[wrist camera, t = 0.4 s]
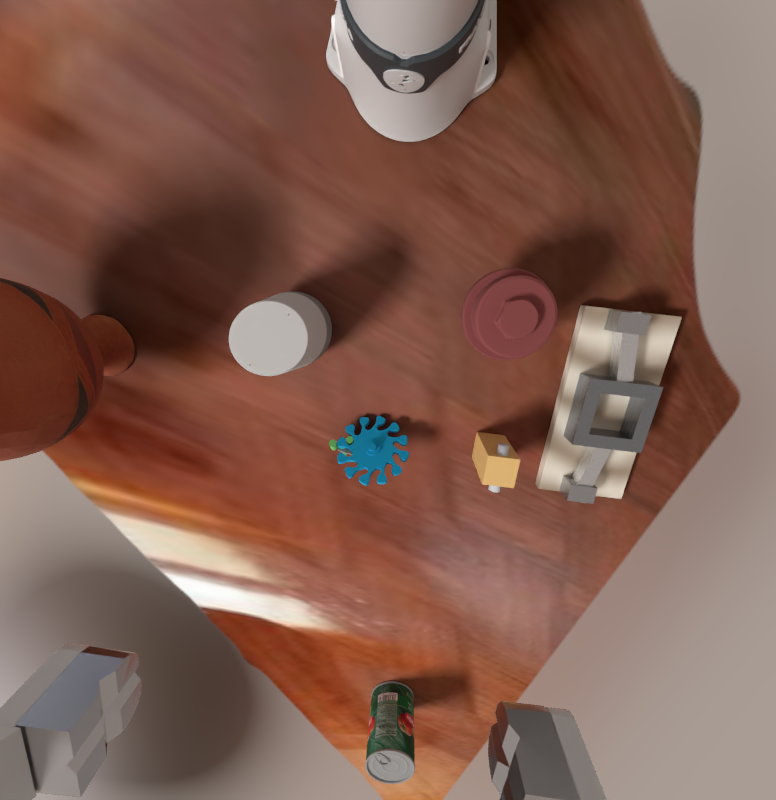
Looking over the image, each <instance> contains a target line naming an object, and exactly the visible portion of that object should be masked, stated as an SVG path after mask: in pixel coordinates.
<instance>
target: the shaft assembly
mask: <svg viewBox="0 0 776 800" xmlns="http://www.w3.org/2000/svg"><path fill="white" fill-rule="evenodd" d="M651 316H652V315H646V314H642V312H639V311H612V310H609V312H608V316H607V319H606V323H605V326H604V330H609V331H613V341H612V350H611V359H610V369H609V376H601V375H592V374H584V373H580V376H579V380H578V383H577V387H576V391H575V394H574V398H573V402H572V406H571V409H570V413H569V417H568V421H567V424H566V428H565V432H564V437H565V438H566V439H567V440H568V441H569V442H570V443H571V444H572V445H579V446H587V448H586V450H585V452H584V454H583V456H582V458H581V460H580V462H579V464H578V466H577V468H576V470H575V472H574V474H573V476H565V475H563V478H562V482H561V485H560V489H559V490H560V492H561V493H562V494H563V496H564V497H565V498H566V500H567V501H575V502H582V503H592V504H593V502H594V499H595V496H596V493H597V489H598V488H597V487H596V486H595V485H594V483H595V481H596V479H597V477H598V475H599V473H600V471H601V469H602V468H603V466H604V464H605V462H606V460H607V458H608V456H609V454H610V452H611V450H620V451H628V452H636V453H641V452H642V449H643V446H644V443H645V440H646V437H647V434H648V431H649V428H650V425H651V422H652V419H653V417H654V414H655V411H656V408H657V405H658V402H659V399H660V396H661V393H662V390H663V387H662V386H659V385H657V384H654V383H652V382H649V381H643V380H634V379H633V378H634V370H635V363H636V355H637V347H638V339H639V335H646V332H647V328H648V325H649V322H650V319H651ZM601 393H604V394H612V395H620V396H629V397H630V400H629V403H628V406H627V409H626V412H625V415H624V419H623V422H622V425H621V428H620V431H615V430H607V429H598V428H591V425H592V422H593V418H594V415H595V411H596V408H597V404H598V401H599V397H600V394H601Z"/></svg>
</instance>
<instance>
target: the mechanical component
mask: <svg viewBox="0 0 776 800" xmlns="http://www.w3.org/2000/svg"><path fill="white" fill-rule="evenodd" d="M557 316H558V310H557V304H556V300H555V298H554V296H553V294H552V292H551V291H550V289H549V288H548V286H547V285H546V284H545V282H544V281H543V280H542V279H541V278H540V277H538V276H537V275H535V274H534V273H532V272H530V271H527V270H524V269H519V268H506V269H500V270H496V271H494V272H491V273H489V274H487V275H485V276H484V277H482V278H481V279H480V280H478V281H477V282H476V283H475V284H474V285H473V287H472V288H471V289H470V291H469V292H468V294H467V296H466V298H465V300H464V303H463V307H462V313H461V322H462V328H463V331H464V334H465V336H466V338H467V339H468V341H469V342H470V344H471V345H472V346H473V347H474V348H475V349H476V350H477V351H479V352H480V353H482V354H483V355H485V356H487V357H489V358H493V359H497V360H513V359H517V358H520V357H524V356H527V355H530V354H532V353H534V352H535V351H537V350H538V349H540V348H541V347H542V346H543V345H544V344H545V343H546V342H547V341H548V340H549V338H550V337H551V335H552V333H553V331H554V329H555V326H556V322H557Z"/></svg>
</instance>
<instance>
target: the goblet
mask: <svg viewBox="0 0 776 800" xmlns="http://www.w3.org/2000/svg"><path fill="white" fill-rule="evenodd" d="M134 353H135V346H134V343H133V339H132V338H131V336H130V335H129V333H128V332H127V330H126V329H125V328H124V327H123V326H122V325H121V324H120V323H119V322H118V321H117V320H115V319H114V318H111V317H108V316H104V315H91V316H87V317H85V318H83V319H80V318H79V317H78V316H77V315H76V314H75V313H74V312H73V311H71V310H70V309H69V308H68V307H66V306H65V305H64V304H62V303H61V302H60V301H58V300H57V299H55V298H53V297H51V296H49V295H47V294H45V293H43V292H40V291H38V290H36V289H34V288H31V287H29V286H26V285H24V284H20V283H17V282H14V281H10V280H6V279H2V278H0V461H4V460H9V459H14V458H19V457H23V456H27V455H30V454H33V453H36V452H39V451H42V450H44V449H46V448H48V447H50V446H52V445H54V444H55V443H57V442H59V441H60V440H62V439H63V438H65V437H66V436H68V435H69V434H71V433H72V432H73V431H75V430H76V429H77V428H78V427H79V426H80V425H81V424H82V423H83V422H84V421H85V420H86V419H87V418H88V417H89V415H90V414H91V412H92V410H93V409H94V407H95V406H96V404H97V401H98V399H99V396H100V394H101V390H102V385H103V377H104V375H105V376H112V375H118V374H119V373H121V372H123V371H125V370H126V369H127V368H128V366H129V365H130V364H131V363H132V362H133V358H134Z"/></svg>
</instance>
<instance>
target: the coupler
mask: <svg viewBox="0 0 776 800" xmlns="http://www.w3.org/2000/svg"><path fill="white" fill-rule="evenodd" d="M472 458H473V461H474V464H475V466H476V469H477V472H478V474H479V477H480V479H481V482H482V484H484V485H489V490H490V491H492V492H496V493H497V492H499V491H500V487H508V488H514V485H515V481H516V476H517V472H518V468H519V464H520V458H519V457H518V455H517V454H516V452H515V451H514V449H513V447H512V446H511V444H510V443H509V441H508V440H507V438H506V437H505V435H499V434H490V433H482V432H477V434H476V439H475V444H474V449H473V454H472Z"/></svg>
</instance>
